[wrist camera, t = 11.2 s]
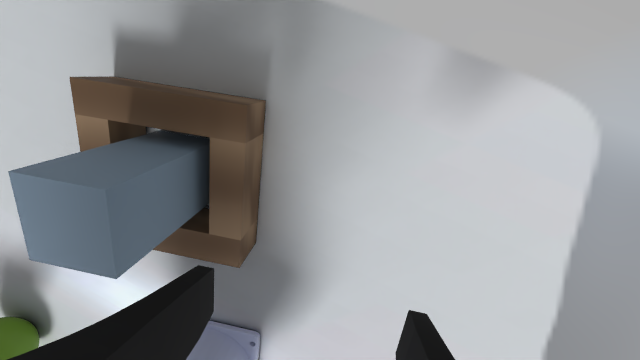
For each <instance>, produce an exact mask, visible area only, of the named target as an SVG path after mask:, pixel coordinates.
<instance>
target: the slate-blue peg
mask: <svg viewBox="0 0 640 360" xmlns="http://www.w3.org/2000/svg"><path fill="white" fill-rule="evenodd" d="M8 172H9V176H10V180H11V184H12V189H13V193H14V197H15V201H16V205H17V209H18V213H19V217H20V222H21V226H22V230H23V234H24V238H25V242H26V246H27V251H28V255H29V259H30V260H32V261H37V262H42V263H46V264H51V265H55V266H60V267H64V268H69V269H73V270H78V271H82V272H87V273H91V274H96V275H100V276H105V277H109V278H114V279H117V278H118V277H120V276H121V275H122V274H123V273H124V272H126V271H127V270H128V269H129V268H131V267H132V266H133V265H134V264H135V263H137V262H138V261H139V260H140V259H142V258H143V257H144V256H145V255H146V254H148V253H149V252H150V251H151V250H153V249H154V248H155V247H156V246H158V245H159V244H160V243H161V242H162V241H164V240H165V239H166V238H167V237H169V236H170V235H171V234H172V233H173V232H175V231H176V230H177V229H178V228H180V227H181V226H182V225H183V224H184V223H186V222H187V221H188V220H189V219H191V218H192V217H193V216H194V215H195V214H197V213H198V212H199V211H200V210H202V209H203V208H204V207H205V206H207V205H208V204H209V180H210V139H209V138H203V137H197V136H191V135H185V134H179V133H173V132H167V131H162V130H160V131H157V132H153V133H149V134H145V135H142V136H138V137H134V138H131V139H127V140H123V141H119V142H116V143H112V144H108V145H105V146H101V147H97V148H93V149H90V150H86V151H82V152H79V153H75V154H71V155H67V156H64V157H60V158H56V159H53V160H49V161H45V162H41V163H38V164H34V165H30V166H27V167H23V168H19V169H15V170H12V171H8Z"/></svg>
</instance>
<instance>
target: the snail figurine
mask: <svg viewBox="0 0 640 360" xmlns="http://www.w3.org/2000/svg"><path fill="white" fill-rule="evenodd" d="M38 346H39V335H38V332H37V330H36V328H35V327H34V326H33V325H32V324H31V323H30V322H28V321H27V320H24V319H21V318H17V317H2V318H0V360H7V359H10V358H13V357H15V356H18V355H21V354H24V353H26V352H29V351H31V350H34V349H36V348H38Z"/></svg>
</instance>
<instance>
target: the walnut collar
mask: <svg viewBox="0 0 640 360" xmlns="http://www.w3.org/2000/svg"><path fill="white" fill-rule="evenodd" d="M70 84H71V90H72V97H73V104H74V111H75V117H76V124H77V131H78V138H79V144H80V151H81V152H82V151H86V150H90V149H93V148H97V147H101V146H105V145H108V144H112V143H116V142H119V141H123V140H127V139H131V138H134V137H138V136H142V135H145V134H146V127H152V128H158V129H164V130H170V131H175V132H181V133H187V134H193V135H199V136H205V137H210V180H209V209H208V208H203V209H202V210H200V211H199V212H198V213H197V214H195V215H194V216H193V217H192V218H191V219H189V220H188V221H187V222H186V223H184V224H183V225H182V226H181V227H180V228H178V229H177V230H176V231H175V232H173V233H172V234H171V235H170V236H169V237H167V238H166V239H165V240H164V241H162V242H161V243H160V244H159V245H158V246H156V247H155V248H154V249H153V250H157V251H162V252H166V253H171V254H176V255H181V256H185V257H190V258H195V259H200V260H204V261H209V262H214V263H218V264H223V265H228V266H233V267H237V268H240V266H241V264H242V263H243V261H244V260H245V258H246V257H247V255H248V254H249V252H250V251H251V249H252V248H253V246H254V245H255V243H256V233H257V219H258V205H259V190H260V176H261V162H262V148H263V133H264V119H265V105H266V101H265V100H259V99H252V98H246V97H240V96H233V95H227V94H220V93H214V92H208V91H201V90H195V89H189V88H182V87H176V86H170V85H163V84H157V83H150V82H144V81H138V80H131V79H125V78H119V77H70Z"/></svg>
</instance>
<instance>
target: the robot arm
mask: <svg viewBox="0 0 640 360" xmlns="http://www.w3.org/2000/svg"><path fill="white" fill-rule="evenodd" d="M213 308H214V268H209V267H204V266H200V265H198V266H197V267H195V268H193V269H191V270H190V271H188V272H186V273H185V274H183V275H181V276H180V277H178V278H177V279H175V280H173V281H172V282H170V283H168V284H167V285H165V286H163V287H162V288H160V289H158V290H157V291H155V292H153V293H151V294H150V295H148V296H146V297H145V298H143V299H141V300H139V301H137V302H135V303H134V304H132V305H130V306H128V307H126V308H124V309H122V310H121V311H119V312H117V313H115V314H113V315H111V316H109V317H107V318H105V319H103V320H101V321H99V322H97V323H95V324H93V325H91V326H88V327H86V328H84V329H82V330H80V331H78V332H75V333H73V334H71V335H68V336H66V337H64V338H61V339H59V340H56V341H54V342H51V343H49V344H46V345H44V346H41V347H39V348H36V349H34V350H31V351H29V352H26V353H24V354H21V355H18V356H15V357H13V358H10V359H7V360H258V358H259V347H260V334H259V333H258V332H256V331H252V330H248V329H244V328H239V327H235V326H231V325H226V324H222V323H217V322H213V321H209V320H210V317H211V315H212V313H213ZM396 360H455V359H454V357H453V356H452V354H451V353H450V351H449V349H448V348H447V346H446V345H445V343H444V341H443V340H442V338H441V337H440V335H439V333H438V332H437V330H436V328H435V327H434V325H433V323H432V322H431V320H430V319H429V317H428V315H427V314H425V313H420V312H415V311H411V310H409V311H408V314H407V318H406V321H405V324H404V328H403V331H402V334H401V337H400V341H399V344H398V347H397V351H396Z"/></svg>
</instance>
